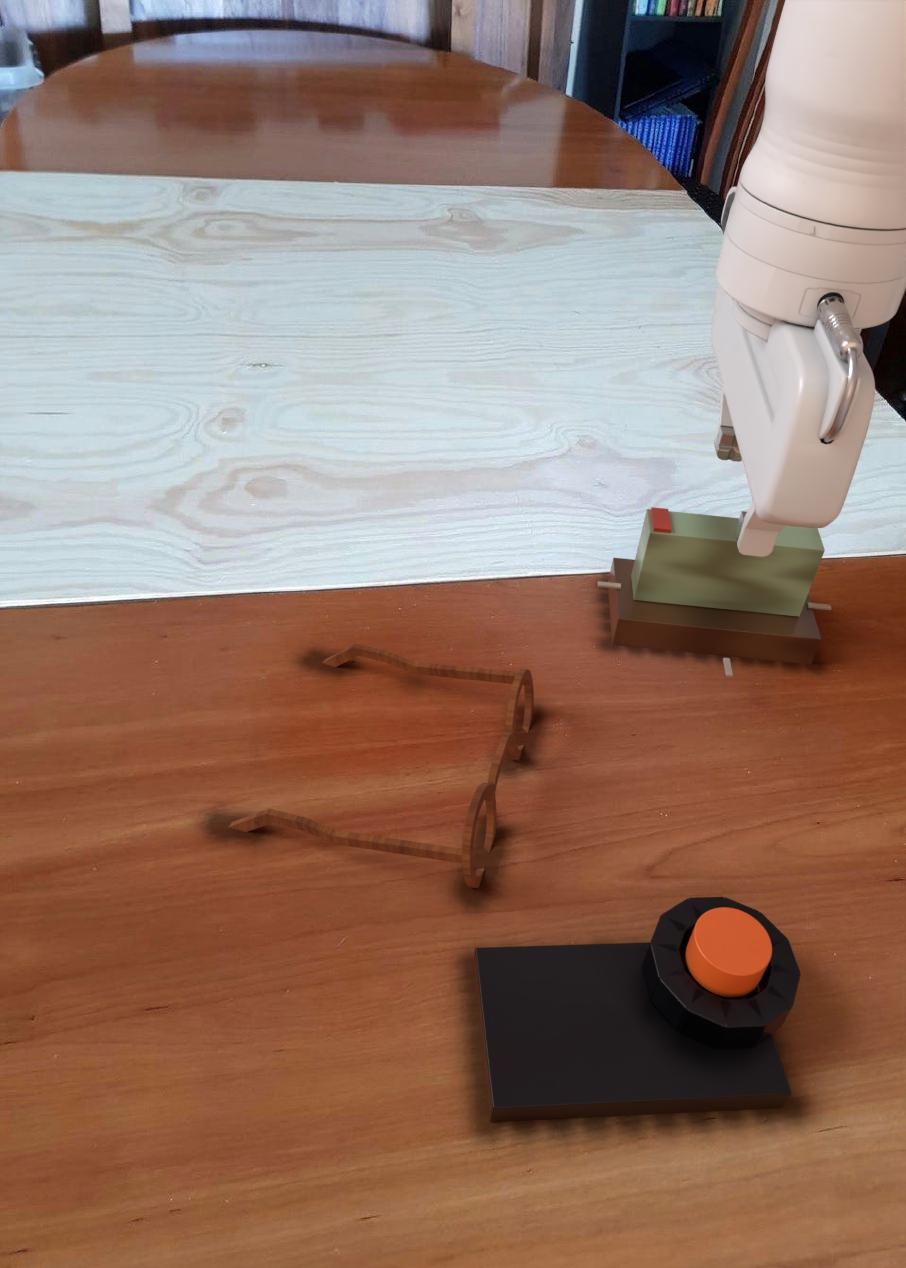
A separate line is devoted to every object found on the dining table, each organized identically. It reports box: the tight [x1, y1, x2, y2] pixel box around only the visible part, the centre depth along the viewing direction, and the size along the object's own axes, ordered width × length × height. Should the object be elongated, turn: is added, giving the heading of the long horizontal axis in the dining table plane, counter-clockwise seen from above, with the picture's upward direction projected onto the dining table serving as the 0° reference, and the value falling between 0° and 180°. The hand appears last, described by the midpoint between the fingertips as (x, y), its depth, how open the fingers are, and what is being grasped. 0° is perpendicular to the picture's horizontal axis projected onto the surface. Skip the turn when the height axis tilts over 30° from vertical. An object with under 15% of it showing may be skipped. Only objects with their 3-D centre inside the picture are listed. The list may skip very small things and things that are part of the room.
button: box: [685, 907, 772, 997], centre depth 44 cm, size 3×3×2 cm
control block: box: [472, 896, 802, 1123], centre depth 45 cm, size 13×8×4 cm, turn 95°
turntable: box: [597, 557, 832, 678], centre depth 65 cm, size 14×14×3 cm
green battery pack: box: [631, 506, 826, 617], centre depth 63 cm, size 10×2×5 cm, turn 86°
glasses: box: [227, 643, 535, 889], centre depth 54 cm, size 13×13×5 cm
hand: (738, 498), depth 60 cm, fingers open, 8 cm apart
